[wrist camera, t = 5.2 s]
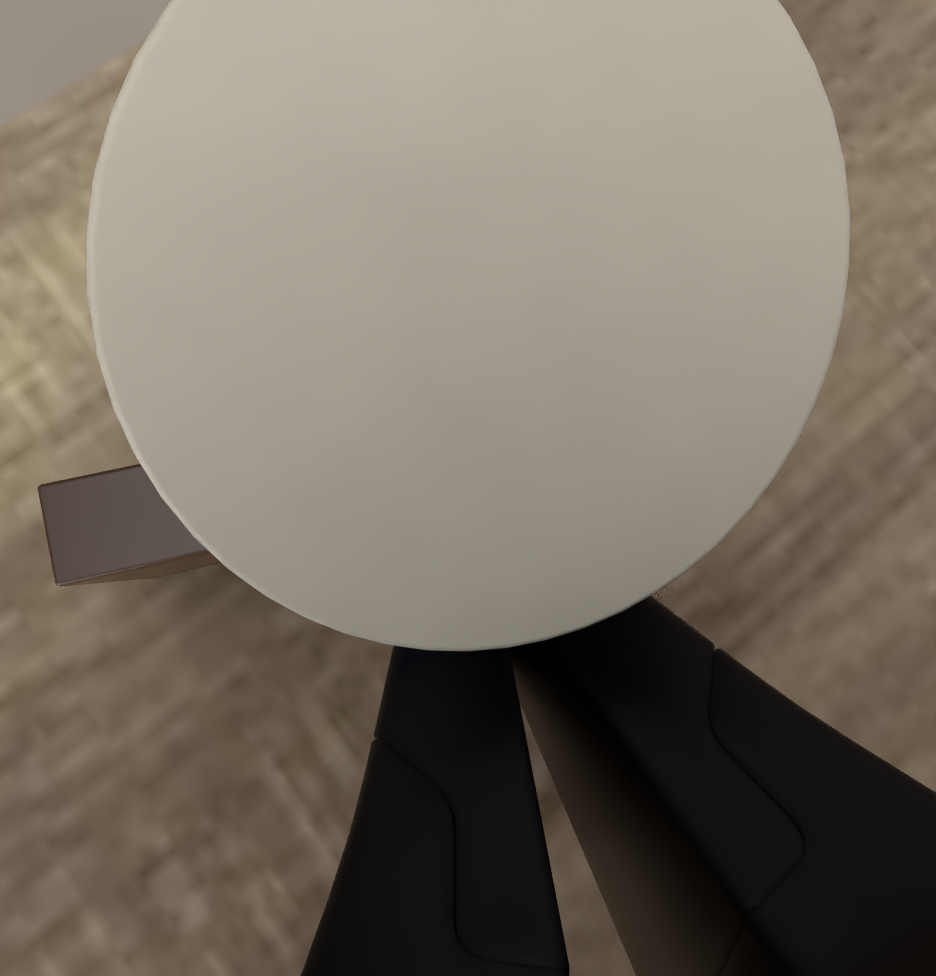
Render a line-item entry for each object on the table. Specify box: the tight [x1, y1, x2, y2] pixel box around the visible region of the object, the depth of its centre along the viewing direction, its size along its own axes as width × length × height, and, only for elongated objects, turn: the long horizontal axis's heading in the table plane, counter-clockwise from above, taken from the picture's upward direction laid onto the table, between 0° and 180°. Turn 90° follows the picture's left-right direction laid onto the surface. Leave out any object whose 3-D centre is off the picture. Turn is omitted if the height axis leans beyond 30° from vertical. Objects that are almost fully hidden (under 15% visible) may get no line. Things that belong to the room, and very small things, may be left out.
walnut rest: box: [38, 464, 221, 586], centre depth 13 cm, size 2×12×4 cm, turn 103°
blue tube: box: [86, 0, 850, 651], centre depth 9 cm, size 10×4×12 cm, turn 13°
